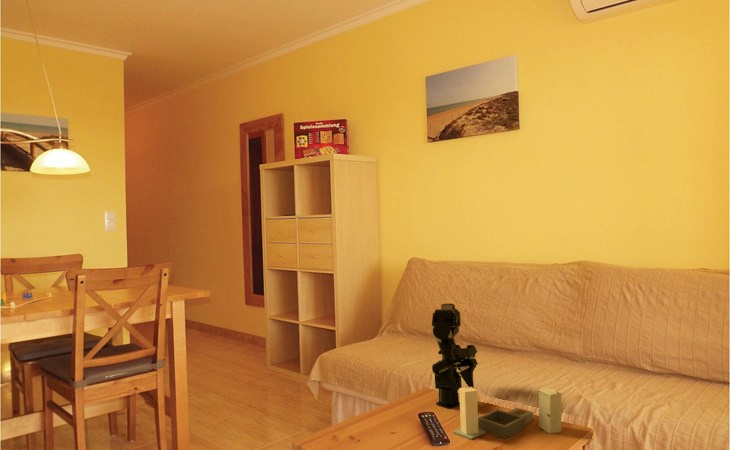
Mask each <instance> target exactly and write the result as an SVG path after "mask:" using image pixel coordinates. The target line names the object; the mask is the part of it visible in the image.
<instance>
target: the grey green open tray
mask: <svg viewBox="0 0 730 450" xmlns="http://www.w3.org/2000/svg"><path fill="white" fill-rule="evenodd" d="M532 421H534V411H529V410H527V409H525V408H520V407H515V408H513V409H511V410H509V411H504V410H502V409H498V408H497V409H494V410H492V411H489V412H487V413H484V414H483V415H480V416H478V429H481V430H484V431H486V433H488V434H490V435H494V436H496V437H498V438H499V437H500V438H503V439H505V440H506V439H508V438H510V437H512V436H514V435H516V434H518V433H520V432H522V431H524V430H526V429H527V428H526V425H527V424H528V423H530V422H532ZM498 422H499V423H498Z"/></svg>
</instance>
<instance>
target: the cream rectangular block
mask: <svg viewBox="0 0 730 450" xmlns="http://www.w3.org/2000/svg"><path fill="white" fill-rule="evenodd" d="M458 391H459V392H458V394H459V402H460V405H459V415H460V416H459V417H460V420H459V421H460V428H461V430H462V431H463V432H464V433H465V434H466V435H467V434H474V433H478V417H479V415H478V414H479V411H478V407H479V405H478V390H477V389H475V387H474V388H472V387H468V386H465V387H462V388H459V389H458Z"/></svg>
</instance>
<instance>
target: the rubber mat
mask: <svg viewBox="0 0 730 450" xmlns="http://www.w3.org/2000/svg"><path fill="white" fill-rule="evenodd" d="M452 433H453V434H454V433H455V434H454V435H457V436H459V435H460V437H463V438H465V439H467V440H470V439H471V440H474V439H476V438H477V437H480V436H482V435H484V434H486V433H487V432H486V431H484V430H481V429H478V433H474V434H467V435H466V434H465V433H464V432H463V431H462V430H461V427H460V428H457V429H455V430H453V431H452Z"/></svg>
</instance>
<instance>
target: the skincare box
mask: <svg viewBox="0 0 730 450" xmlns="http://www.w3.org/2000/svg"><path fill="white" fill-rule="evenodd" d="M538 427H539V428H540V429H542V430H544V432H546V433H547V434H556V433H561V432H562V393H561V392H559V391H558V390H557V389H553V388H552V387H544V388H543V387H542V388H539V389H538Z"/></svg>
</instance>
